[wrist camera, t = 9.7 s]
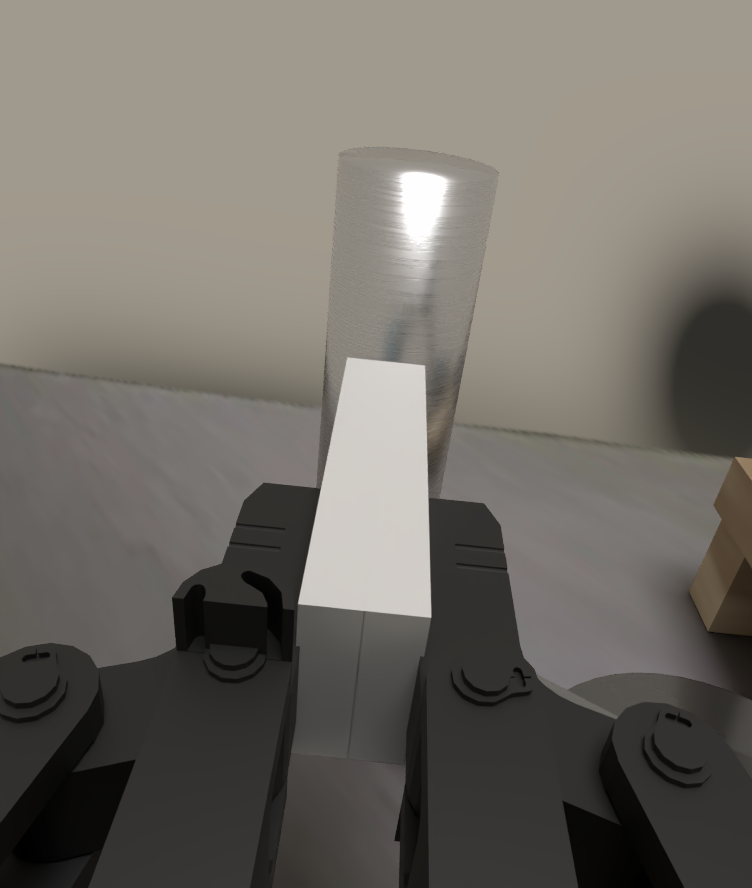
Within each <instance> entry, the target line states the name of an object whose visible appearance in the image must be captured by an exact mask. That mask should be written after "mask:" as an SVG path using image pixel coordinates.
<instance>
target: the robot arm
mask: <svg viewBox="0 0 752 888" xmlns="http://www.w3.org/2000/svg"><path fill="white" fill-rule="evenodd" d="M172 602H173V614H174V625H175V637H176V647H175V648H174V649H172V650H170V651H168V652H166V653H164V654H161V655H159V656H157V657H154V658H150V659H146V660H142V661H138V662H132V663H126V664H120V665H114V666H108V667H102V668H97V667H96V665H95V664H94V662H93V660H92V659H91V657H90V656H89V655H88V654H86V653H84V652H82V651H81V650H79V649H77V648H75V647H74V646H68V645H61V644H54V643H48V644H41V645H35V646H28V647H24V648H22V649H19V650H17V651H15V652H12V653H10V654H8V655H5V656H3V657H1V658H0V888H272V883H273V877H274V871H275V865H276V858H277V852H278V846H279V840H280V834H281V828H282V821H283V815H284V809H285V803H286V797H287V775H288V767H289V761H290V755H291V753H292V754H302V755H312V756H322V757H332V758H342V759H351V760H361V761H371V762H381V763H391V764H401V765H404V761H405V756H406V783H405V789H404V794H403V799H402V804H401V809H400V814H399V820H398V825H397V830H396V835H395V840H394V841H400V868H399V888H752V778H751V777H750V776H749V774H748V773H747V771H746V770H745V768H744V767H743V765H742V764H741V762H740V761H739V759H738V758H737V756H736V755H735V753H734V752H733V750H732V749H731V747H730V746H729V745H728V744H727V743H726V742H725V741H724V740H723V739H722V737H721V736H720V735H719V734H718V733H717V732H716V731H715V730H714V728H713V727H711V726H710V725H708V724H707V723H705V722H704V721H702V720H701V719H699V718H698V717H697V716H695V715H694V714H692V713H691V712H688V711H686V710H683V709H680V708H677V707H675V706H672V705H669V704H667V703H653V702H642V703H639V704H636V705H633V706H630V707H627V708H626V709H625V710H624V711H623V712H622V713H621V714H620V716H619V717H618V718H617V719H614V718H612V717H609V716H606V715H604V714H601V713H599V712H596V711H593V710H591V709H588V708H585V707H583V706H580V705H578V704H575V703H573V702H571V701H569V700H567V699H565V698H563V697H561V696H559V695H558V694H556V693H555V692H553V691H552V690H551V689H549V688H548V687H546V686H545V685H544V684H543V683H542V682H541V681H540V680H539V679H538V677H537V675H536V672H535V670H534V668H533V667H532V666H531V665H530V664H529V663H528V662H527V661H526V660H525V659H524V657H523V654H522V650H521V647H520V642H519V636H518V630H517V624H516V618H515V611H514V605H513V599H512V593H511V587H510V581H509V575H508V573H507V563H506V557H505V553H504V544H503V538H502V532H501V526H500V524H499V523H498V521H497V520H496V519H495V517H494V516H493V515H492V513H491V512H490V511H489V509H488V508H487V507H486V505H485V504H484V503H474V502H465V501H455V500H445V499H436V498H428V463H427V423H426V383H425V365H415V364H406V363H396V362H387V361H377V360H368V359H358V358H349V357H347V362H346V367H345V372H344V377H343V382H342V387H341V392H340V397H339V402H338V407H337V412H336V417H335V422H334V427H333V432H332V437H331V442H330V447H329V452H328V457H327V462H326V467H325V471H324V476H323V481H322V486H321V489H319V488H310V487H300V486H290V485H281V484H271V483H263V484H262V485H261V486H260V487H259V488H257V489H256V490H255V491H254V492H253V493H252V494H251V495H250V496H249V497H248V498H246V499H245V500H244V502H243V505H242V508H241V511H240V514H239V516H238V519H237V522H236V528H234V530H233V533H232V536H231V539H230V543H229V547H227V550H226V553H225V556H224V559H223V562H222V564H219V565H216V566H213V567H209V568H206V569H203V570H200V571H199V572H197V573H196V574H194V575H193V576H191V577H190V578H188V579H187V580H185V581H184V582H183V583H182V584H181V586H180V587H179V589H178V590H177V591H176V593H175V594H174V596H173V597H172Z"/></svg>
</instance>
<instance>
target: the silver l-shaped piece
mask: <svg viewBox="0 0 752 888" xmlns="http://www.w3.org/2000/svg"><path fill="white" fill-rule="evenodd" d="M498 177H499V172H498V171H497V170H496V169H494V168H492V167H491V166H489V165H486V164H483V163H481V162H478V161H474V160H471V159H467V158H463V157H459V156H454V155H449V154H444V153H438V152H431V151H423V150H415V149H405V148H390V147H364V148H354V149H348V150H344V151H342V152H340V153H339V159H338V173H337V189H336V203H335V218H334V233H333V248H332V262H331V279H330V293H329V307H328V323H327V337H326V352H325V367H324V381H323V397H322V411H321V426H320V441H319V456H318V471H317V486H316V488H319V489H321V486H322V481H323V476H324V471H325V467H326V462H327V457H328V452H329V447H330V442H331V437H332V432H333V427H334V422H335V417H336V412H337V407H338V402H339V397H340V392H341V387H342V382H343V377H344V372H345V367H346V362H347V357H349V358H358V359H368V360H377V361H387V362H396V363H406V364H415V365H425V383H426V423H427V463H428V498H436V499H439V498H440V493H441V488H442V482H443V477H444V471H445V466H446V460H447V455H448V449H449V444H450V439H451V433H452V428H453V422H454V416H455V411H456V406H457V400H458V395H459V389H460V384H461V378H462V372H463V368H464V362H465V357H466V351H467V346H468V340H469V335H470V329H471V324H472V318H473V313H474V308H475V302H476V297H477V291H478V286H479V280H480V275H481V270H482V264H483V259H484V253H485V248H486V241H487V237H488V231H489V226H490V220H491V215H492V210H493V204H494V199H495V193H496V187H497V182H498ZM536 675H537V674H536ZM537 677H538V679H539V680H540V681H541V682H542V683H543V684H544V685H545V686H546V687H548V688H549V689H551V690H552V691H553V692H555V693H556V694H558V695H559V696H561V697H563V698H565V699H567V700H569V701H571V702H573V703H575V704H578V705H580V706H583V707H585V708H588V709H591V710H593V711H596V712H599V713H601V714H604V715H606V716H609V717H612V718H614V719H617V718H618V717H619V716H620V714H621V713H622V712H623V711H624V710H625V709H626V708H627V707H630V706H633V705H636V704H639V703H642V702H653V703H667V704H669V705H672V706H675V707H677V708H680V709H683V710H686V711H688V712H691V713H692V714H694V715H695V716H697V717H698V718H699V719H701V720H702V721H704V722H705V723H707V724H708V725H710V726H711V727H713V728H714V730H715V731H716V732H717V733H718V734H719V735H720V736H721V737H722V739H723V740H724V741H725V742H726V743H727V744H728V745H729V746H730V747H731V749H732V750H733V752H734V753H735V755H736V756H737V758H738V759H739V761H740V762H741V764H742V765H743V767H744V768H745V770H746V771H747V773H748V774H749V776H750V777H751V778H752V700H750V699H747V698H745V697H742V696H740V695H738V694H735V693H733V692H731V691H728V690H725V689H722V688H719V687H716V686H713V685H710V684H707V683H704V682H700V681H696V680H692V679H687V678H683V677H678V676H671V675H664V674H655V673H626V674H614V675H609V676H604V677H599V678H595V679H592V680H589V681H586V682H584V683H581V684H578V685H576V686H574V687H572V688H570V689H569V690H566V689H564V688H562V687H560V686H558V685H556V684H554V683H552V682H550V681H548V680H546V679H544V678H542V677H540V676H538V675H537Z"/></svg>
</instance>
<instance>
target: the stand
mask: <svg viewBox="0 0 752 888" xmlns="http://www.w3.org/2000/svg"><path fill="white" fill-rule="evenodd" d="M714 507H715V509H716V510H717V512H718V514H719V515H720V517H721V518H722V520H721V523H720V525H719V527H718V529H717V531H716V533H715V536H714V538H713V540H712V542H711V544H710V547H709V549H708V551H707V553H706V555H705V557H704V560H703V562H702V564H701V566H700V568H699V571H698V573H697V575H696V577H695V579H694V582H693V584H692V586H691V588H690V590H689V592H690V595H691V597H692V599H693V601H694V603H695V605H696V607H697V609H698V612H699V614H700V616H701V618H702V620H703V622H704V624H705V626H706V629H707V631H709V632H718V633H728V634H737V635H746V636H752V459H749V458H740V457H735V458H734V460H733V462H732V464H731V467H730V469H729V471H728V473H727V476H726V478H725V480H724V482H723V485H722V487H721V489H720V491H719V494H718V496H717V498H716V501H715V503H714Z"/></svg>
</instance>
